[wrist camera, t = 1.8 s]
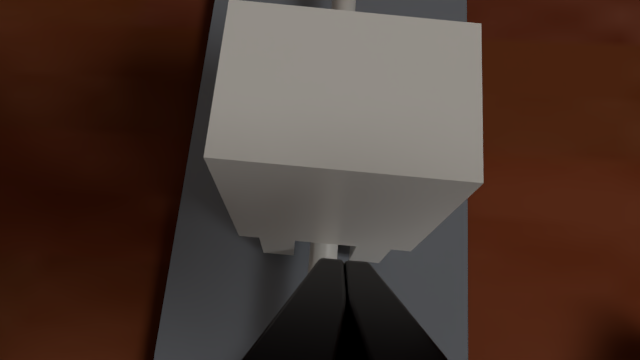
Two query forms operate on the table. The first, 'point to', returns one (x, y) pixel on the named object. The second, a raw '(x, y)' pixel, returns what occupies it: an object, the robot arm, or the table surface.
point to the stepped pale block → (344, 126)
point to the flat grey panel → (289, 270)
